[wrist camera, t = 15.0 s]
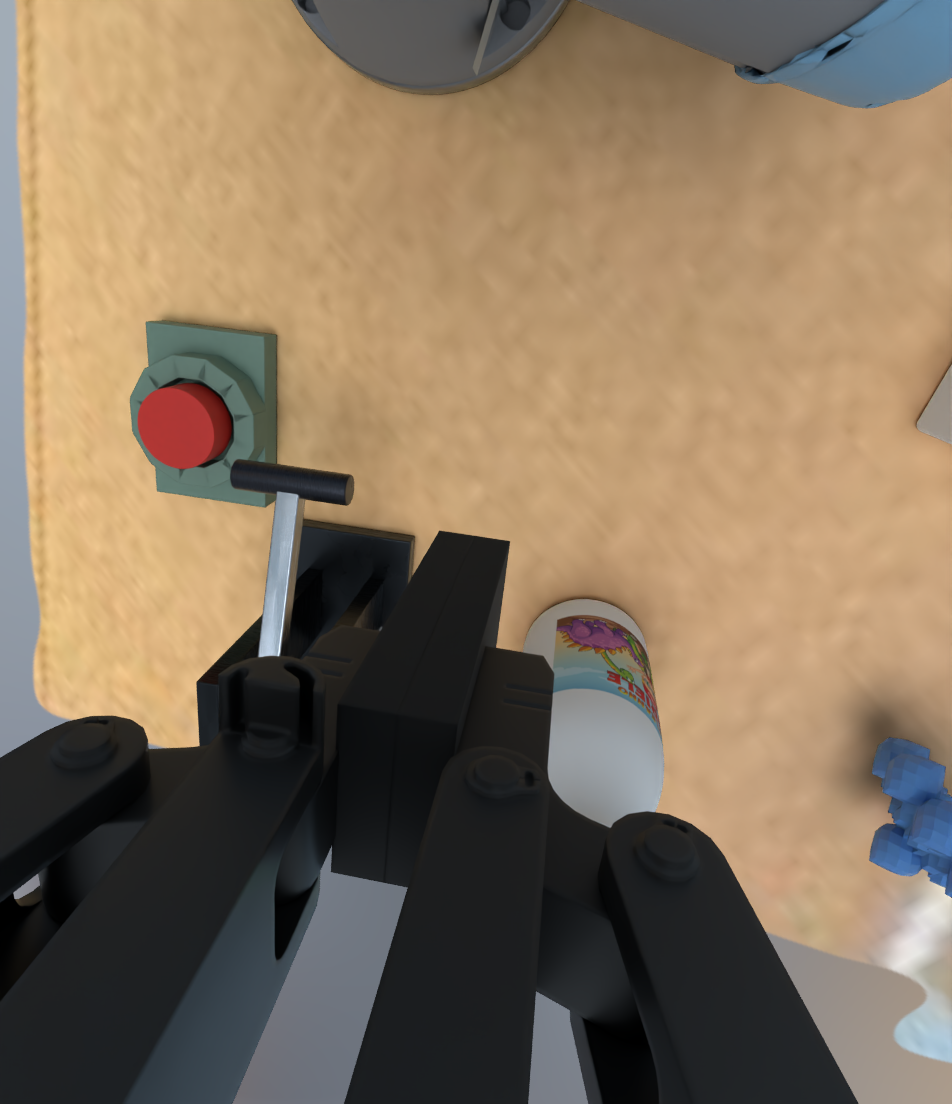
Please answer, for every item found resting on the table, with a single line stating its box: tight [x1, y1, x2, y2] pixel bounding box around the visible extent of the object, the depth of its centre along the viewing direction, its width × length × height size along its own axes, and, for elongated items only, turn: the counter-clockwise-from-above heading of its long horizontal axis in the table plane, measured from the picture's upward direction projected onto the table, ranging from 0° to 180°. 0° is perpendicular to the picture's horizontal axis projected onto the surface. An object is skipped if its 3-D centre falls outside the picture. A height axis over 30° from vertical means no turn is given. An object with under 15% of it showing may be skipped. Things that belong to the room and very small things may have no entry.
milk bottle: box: [523, 599, 664, 828], centre depth 35 cm, size 8×8×20 cm
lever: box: [230, 459, 354, 657], centre depth 33 cm, size 13×6×2 cm, turn 174°
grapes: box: [869, 737, 952, 898], centre depth 39 cm, size 12×7×12 cm, turn 36°
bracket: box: [197, 519, 415, 746], centre depth 39 cm, size 10×8×15 cm
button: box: [138, 383, 232, 469], centre depth 38 cm, size 4×4×2 cm
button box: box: [130, 320, 276, 507], centre depth 41 cm, size 10×7×4 cm
